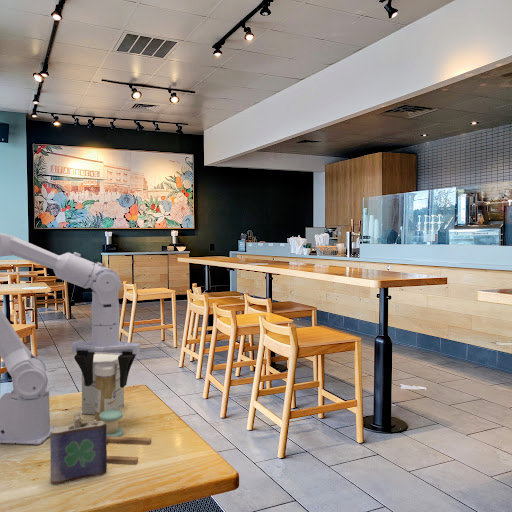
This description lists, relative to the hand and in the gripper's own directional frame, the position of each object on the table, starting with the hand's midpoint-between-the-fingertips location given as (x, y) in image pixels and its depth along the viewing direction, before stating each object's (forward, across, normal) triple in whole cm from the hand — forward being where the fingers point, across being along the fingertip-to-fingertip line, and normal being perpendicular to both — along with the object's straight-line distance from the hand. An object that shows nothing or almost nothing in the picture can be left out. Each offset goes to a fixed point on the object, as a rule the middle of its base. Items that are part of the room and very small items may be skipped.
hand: (106, 385), depth 108 cm
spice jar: (+9, -1, 0) cm, 9 cm away
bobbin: (+9, +3, -5) cm, 10 cm away
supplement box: (+9, -4, +8) cm, 13 cm away
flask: (+9, +4, -22) cm, 25 cm away
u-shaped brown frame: (+9, +7, -12) cm, 17 cm away
